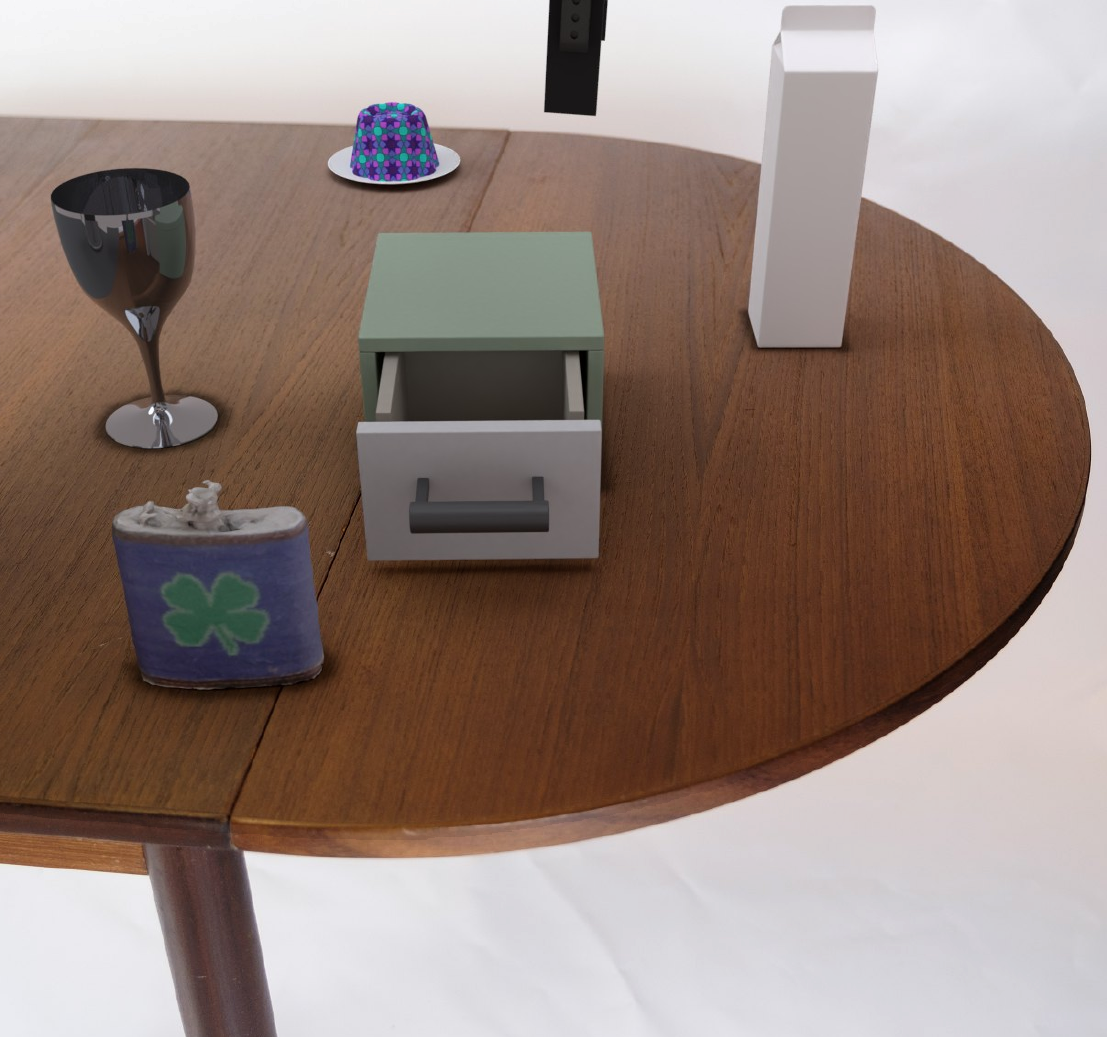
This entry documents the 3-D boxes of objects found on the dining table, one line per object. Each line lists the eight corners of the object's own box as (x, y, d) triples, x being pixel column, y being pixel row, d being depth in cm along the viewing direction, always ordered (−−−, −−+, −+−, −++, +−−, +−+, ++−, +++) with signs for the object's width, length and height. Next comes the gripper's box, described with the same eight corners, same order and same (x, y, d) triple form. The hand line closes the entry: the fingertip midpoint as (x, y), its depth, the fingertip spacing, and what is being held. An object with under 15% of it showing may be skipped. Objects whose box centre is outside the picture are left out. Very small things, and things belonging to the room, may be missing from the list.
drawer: (602, 604, 75) (606, 472, 71) (361, 607, 75) (348, 475, 70) (586, 430, 90) (589, 311, 86) (385, 432, 90) (376, 313, 85)
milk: (747, 314, 107) (774, -7, 93) (829, 313, 107) (867, -8, 94) (757, 349, 102) (787, 16, 89) (843, 348, 102) (886, 15, 89)
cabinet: (600, 487, 87) (604, 335, 81) (370, 489, 86) (357, 337, 80) (588, 369, 99) (591, 230, 93) (387, 371, 99) (377, 232, 93)
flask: (327, 653, 73) (305, 469, 67) (321, 689, 71) (297, 503, 65) (145, 655, 73) (105, 471, 67) (133, 691, 71) (90, 504, 64)
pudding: (459, 146, 137) (457, 89, 133) (461, 191, 127) (459, 130, 124) (332, 148, 136) (327, 91, 133) (324, 193, 126) (318, 132, 123)
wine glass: (142, 385, 97) (100, 161, 88) (247, 403, 95) (215, 176, 86) (73, 439, 91) (21, 205, 82) (183, 460, 89) (142, 223, 80)
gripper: (689, -379, 57) (640, 155, 71) (683, -407, 77) (646, 15, 90) (500, -392, 57) (487, 143, 71) (543, -417, 77) (526, 7, 90)
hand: (576, 73), depth 80 cm, fingers open, 13 cm apart
